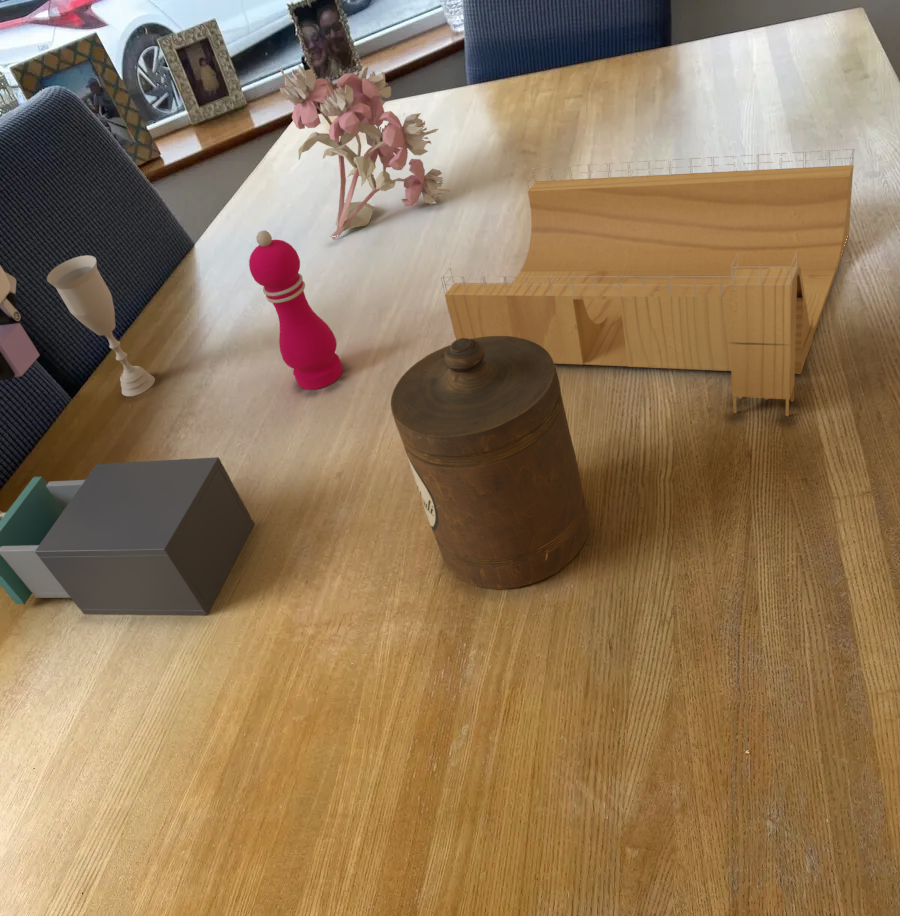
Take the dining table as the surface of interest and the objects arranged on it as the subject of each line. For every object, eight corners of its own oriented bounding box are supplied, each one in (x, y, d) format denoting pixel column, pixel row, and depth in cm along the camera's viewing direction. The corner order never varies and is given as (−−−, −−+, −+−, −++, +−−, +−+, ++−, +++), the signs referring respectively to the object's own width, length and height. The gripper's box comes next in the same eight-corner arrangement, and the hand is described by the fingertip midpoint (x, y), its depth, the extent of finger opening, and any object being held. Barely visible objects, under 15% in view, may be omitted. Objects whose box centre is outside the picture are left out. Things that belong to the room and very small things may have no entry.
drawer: (-28, 603, 106) (-72, 555, 101) (28, 527, 114) (-10, 478, 109) (124, 604, 99) (86, 552, 94) (172, 523, 107) (140, 471, 102)
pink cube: (-8, 379, 112) (-30, 347, 109) (11, 358, 115) (-10, 326, 112) (21, 376, 111) (0, 344, 108) (40, 355, 113) (19, 322, 110)
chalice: (166, 384, 132) (102, 266, 119) (122, 407, 131) (52, 290, 118) (152, 364, 137) (89, 249, 124) (110, 386, 136) (41, 272, 123)
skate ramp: (849, 244, 115) (858, 105, 104) (789, 416, 95) (792, 267, 84) (546, 249, 133) (526, 131, 122) (440, 394, 113) (405, 269, 101)
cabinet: (83, 614, 101) (34, 551, 95) (138, 526, 110) (96, 463, 103) (207, 615, 96) (164, 549, 90) (254, 523, 105) (218, 456, 98)
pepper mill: (286, 377, 125) (224, 235, 111) (334, 353, 126) (279, 209, 112) (305, 399, 120) (242, 254, 106) (354, 374, 121) (299, 227, 107)
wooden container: (471, 481, 100) (415, 297, 85) (606, 489, 94) (572, 292, 79) (419, 582, 92) (346, 397, 76) (564, 599, 86) (517, 401, 70)
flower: (389, 257, 138) (398, 62, 126) (272, 237, 148) (270, 54, 136) (460, 248, 153) (474, 73, 142) (350, 230, 163) (354, 66, 152)
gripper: (-64, 188, 106) (25, 329, 119) (-158, 264, 96) (-49, 411, 108) (-11, 178, 104) (74, 324, 117) (-101, 256, 93) (3, 406, 106)
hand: (14, 364), depth 112 cm, fingers closed on pink cube, 4 cm apart
